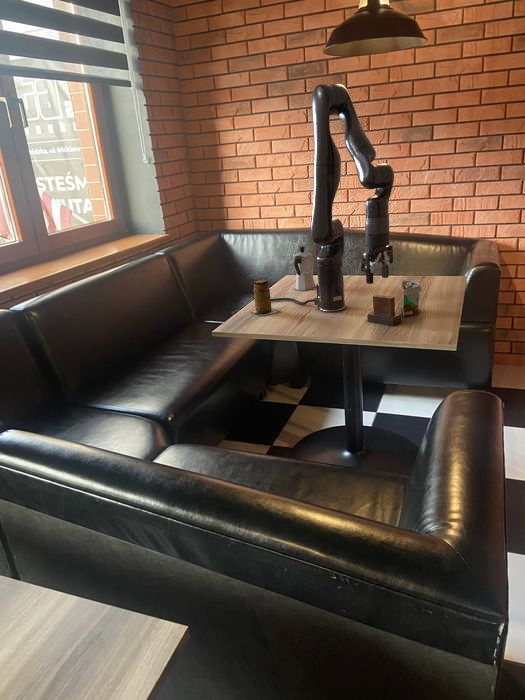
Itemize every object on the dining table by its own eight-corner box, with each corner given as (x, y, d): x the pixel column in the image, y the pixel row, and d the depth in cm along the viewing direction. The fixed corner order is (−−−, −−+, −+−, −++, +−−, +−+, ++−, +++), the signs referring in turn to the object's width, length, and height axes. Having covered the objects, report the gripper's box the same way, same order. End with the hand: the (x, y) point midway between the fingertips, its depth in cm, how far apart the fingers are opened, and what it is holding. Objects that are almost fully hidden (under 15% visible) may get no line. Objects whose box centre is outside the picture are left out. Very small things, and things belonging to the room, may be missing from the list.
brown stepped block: (367, 321, 181) (366, 296, 178) (376, 317, 184) (375, 292, 181) (393, 325, 174) (392, 300, 171) (401, 321, 177) (401, 296, 174)
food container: (422, 317, 179) (422, 288, 175) (403, 318, 180) (403, 289, 177) (420, 306, 190) (420, 279, 187) (402, 307, 191) (401, 280, 188)
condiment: (267, 307, 209) (264, 277, 205) (278, 312, 202) (275, 281, 198) (251, 312, 206) (247, 281, 202) (261, 316, 199) (258, 285, 195)
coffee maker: (301, 284, 239) (298, 243, 233) (319, 284, 235) (317, 243, 229) (288, 293, 227) (284, 250, 221) (307, 293, 223) (304, 250, 217)
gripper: (380, 226, 176) (380, 274, 182) (353, 233, 168) (355, 284, 173) (400, 227, 171) (399, 277, 177) (373, 235, 162) (374, 287, 168)
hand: (377, 280), depth 175 cm, fingers open, 8 cm apart
